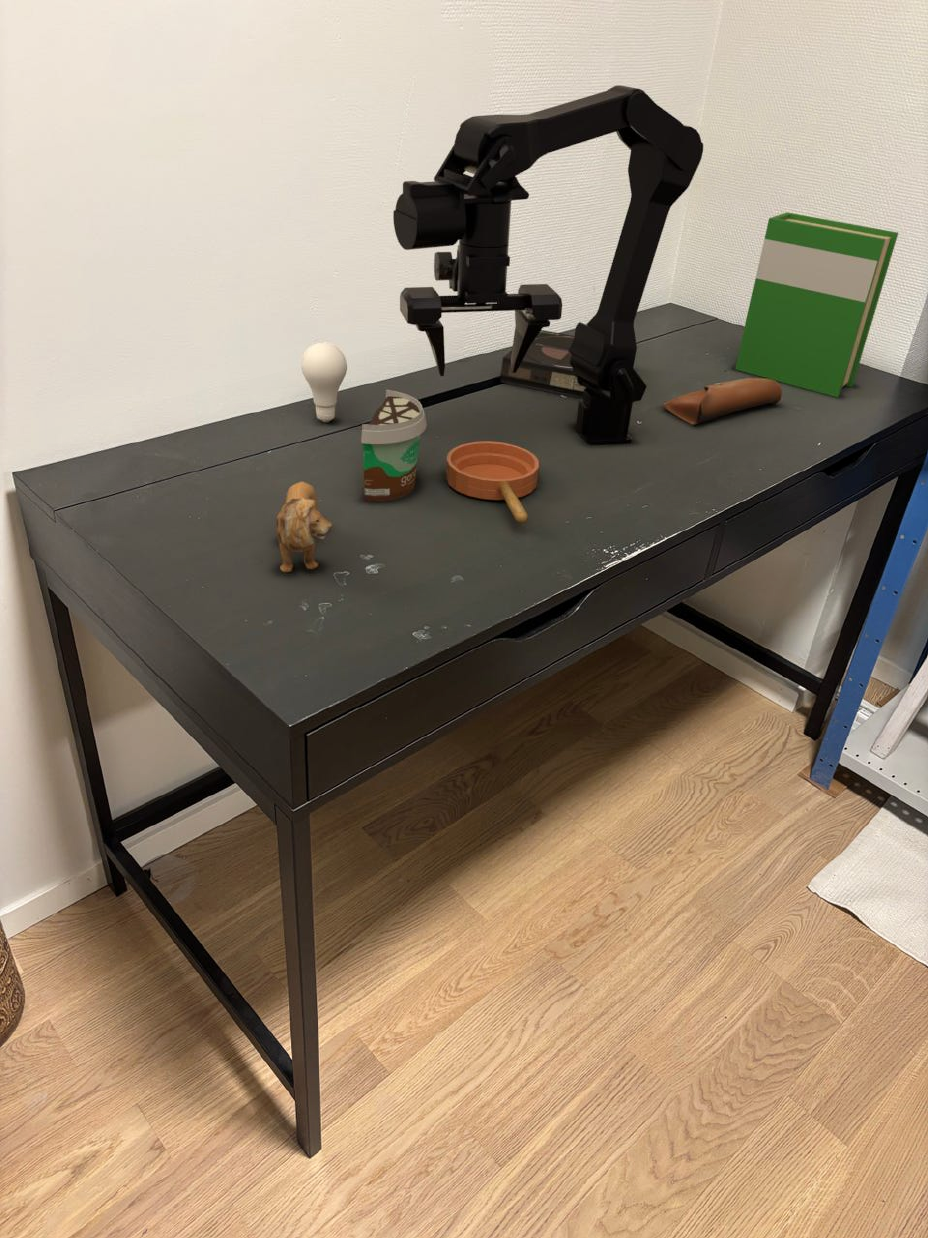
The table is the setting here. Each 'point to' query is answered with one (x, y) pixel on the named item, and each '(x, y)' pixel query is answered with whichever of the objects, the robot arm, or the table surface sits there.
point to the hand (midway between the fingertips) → (477, 373)
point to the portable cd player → (545, 366)
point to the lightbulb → (324, 376)
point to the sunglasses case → (724, 399)
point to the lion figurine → (300, 525)
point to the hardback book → (814, 301)
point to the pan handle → (513, 502)
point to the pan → (491, 469)
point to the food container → (392, 447)
